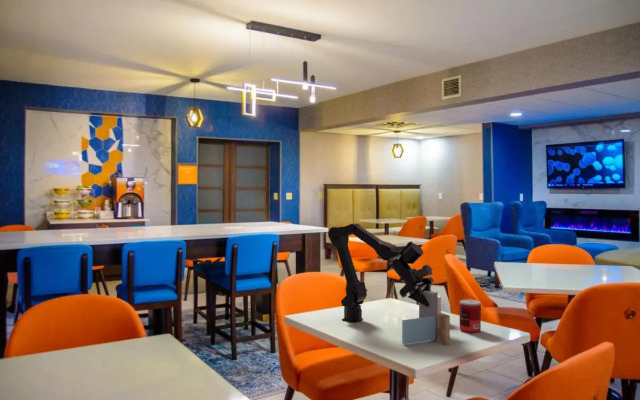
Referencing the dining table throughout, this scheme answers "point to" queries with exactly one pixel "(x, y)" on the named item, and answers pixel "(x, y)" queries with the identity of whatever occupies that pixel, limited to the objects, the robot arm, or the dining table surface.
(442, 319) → the brown wooden block
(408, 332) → the gate
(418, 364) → the dining table surface
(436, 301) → the block
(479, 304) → the canned food
